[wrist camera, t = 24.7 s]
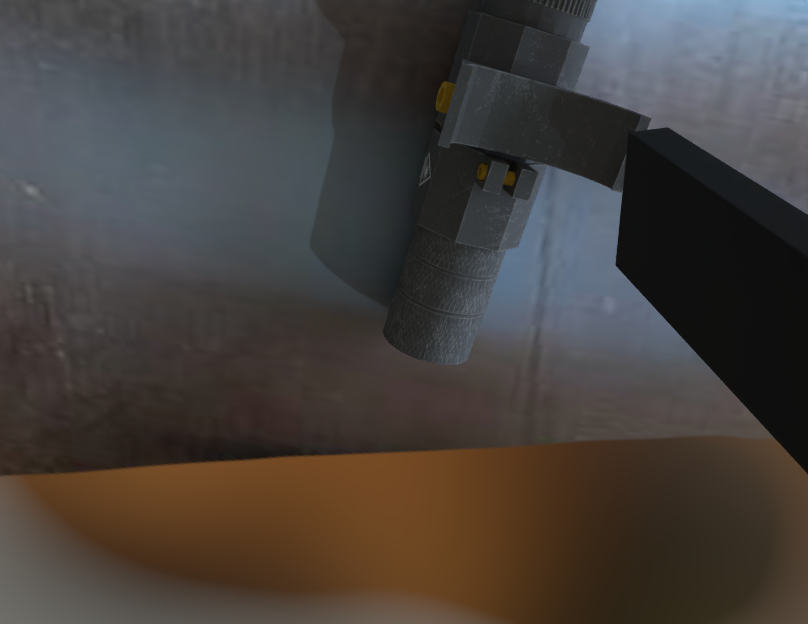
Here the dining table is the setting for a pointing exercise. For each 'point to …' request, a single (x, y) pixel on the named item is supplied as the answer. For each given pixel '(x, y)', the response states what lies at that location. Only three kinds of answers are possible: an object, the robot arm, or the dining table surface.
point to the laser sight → (498, 164)
